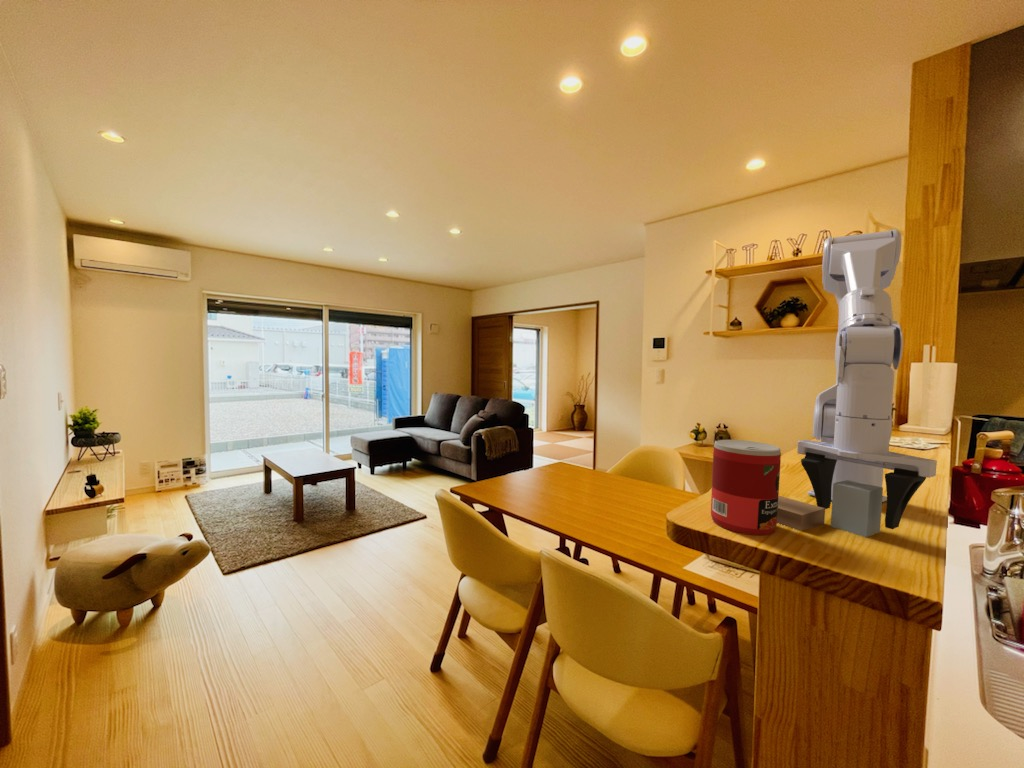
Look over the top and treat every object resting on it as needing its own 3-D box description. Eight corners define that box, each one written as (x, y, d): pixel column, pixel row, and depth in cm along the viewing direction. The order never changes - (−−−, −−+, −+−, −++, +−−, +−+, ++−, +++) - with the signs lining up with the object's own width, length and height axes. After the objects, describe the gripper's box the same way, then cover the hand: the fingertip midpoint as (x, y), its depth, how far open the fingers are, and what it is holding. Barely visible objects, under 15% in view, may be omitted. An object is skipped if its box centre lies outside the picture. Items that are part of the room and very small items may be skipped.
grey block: (844, 521, 60) (847, 479, 60) (880, 532, 56) (883, 487, 56) (830, 526, 58) (833, 483, 58) (866, 537, 54) (869, 491, 54)
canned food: (773, 541, 52) (778, 453, 52) (704, 525, 57) (707, 444, 57) (779, 523, 58) (784, 444, 58) (716, 510, 63) (720, 437, 63)
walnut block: (779, 512, 64) (780, 496, 64) (824, 526, 59) (825, 508, 59) (755, 518, 61) (756, 501, 61) (800, 533, 56) (801, 515, 56)
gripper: (788, 411, 61) (782, 505, 61) (923, 426, 48) (915, 543, 49) (813, 409, 64) (808, 498, 65) (946, 422, 52) (937, 532, 52)
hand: (855, 517), depth 57 cm, fingers open, 7 cm apart
